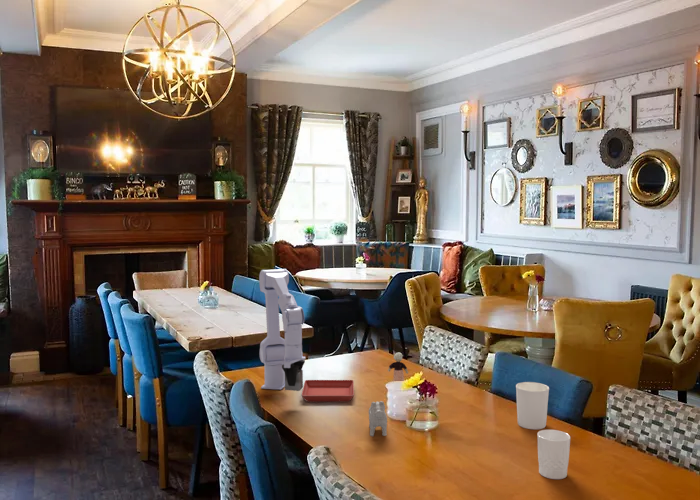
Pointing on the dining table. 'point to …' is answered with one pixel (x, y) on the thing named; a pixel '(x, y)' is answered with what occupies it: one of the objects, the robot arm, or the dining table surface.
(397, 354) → the grandmother figurine
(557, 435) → the white cup
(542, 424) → the candle holder
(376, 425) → the dog figurine
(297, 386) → the charcoal block
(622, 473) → the dining table surface
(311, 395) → the plant saucer
